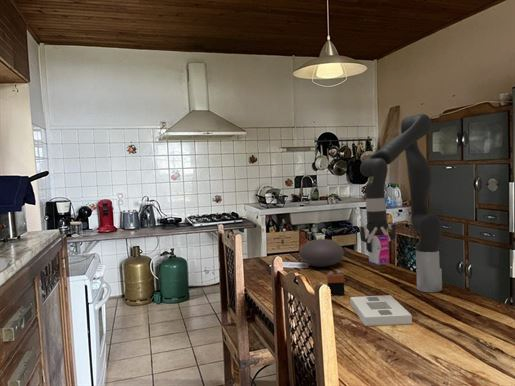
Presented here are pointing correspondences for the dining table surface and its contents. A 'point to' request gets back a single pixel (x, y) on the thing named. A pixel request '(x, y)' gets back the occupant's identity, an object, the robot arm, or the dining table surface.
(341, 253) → the smooth stone
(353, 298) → the light grey flat block
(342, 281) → the battery
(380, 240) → the supplement box
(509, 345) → the dining table surface
